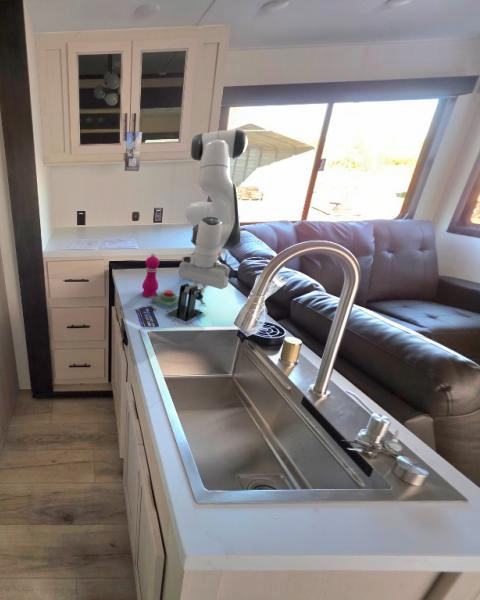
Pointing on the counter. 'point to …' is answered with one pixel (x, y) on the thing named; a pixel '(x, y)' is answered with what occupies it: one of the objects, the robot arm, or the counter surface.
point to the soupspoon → (197, 292)
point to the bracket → (189, 310)
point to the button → (168, 293)
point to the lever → (199, 295)
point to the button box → (166, 300)
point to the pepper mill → (151, 277)
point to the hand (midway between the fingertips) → (199, 292)
